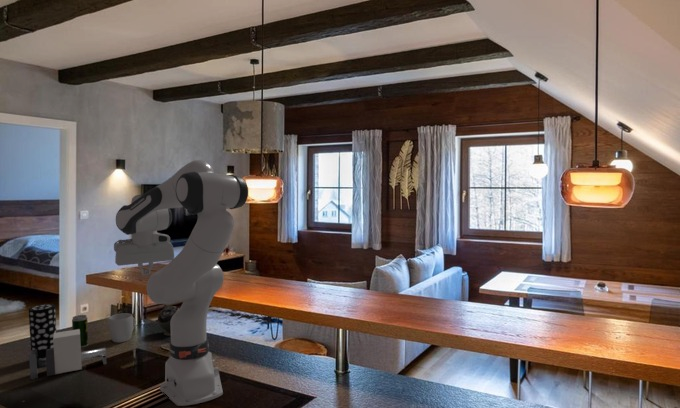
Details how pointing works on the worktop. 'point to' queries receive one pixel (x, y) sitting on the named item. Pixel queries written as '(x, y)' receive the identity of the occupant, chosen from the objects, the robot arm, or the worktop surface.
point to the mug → (121, 327)
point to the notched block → (67, 351)
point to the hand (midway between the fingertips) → (146, 274)
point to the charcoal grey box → (50, 362)
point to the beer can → (81, 328)
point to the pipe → (41, 363)
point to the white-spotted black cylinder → (42, 328)
